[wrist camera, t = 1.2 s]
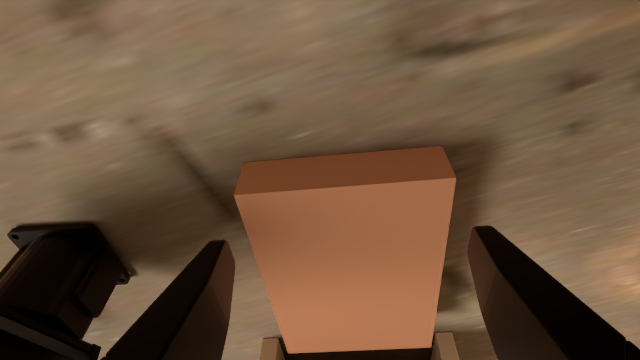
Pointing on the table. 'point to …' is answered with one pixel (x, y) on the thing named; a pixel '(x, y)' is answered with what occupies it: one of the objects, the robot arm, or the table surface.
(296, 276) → the block
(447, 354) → the bridge
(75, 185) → the table surface
